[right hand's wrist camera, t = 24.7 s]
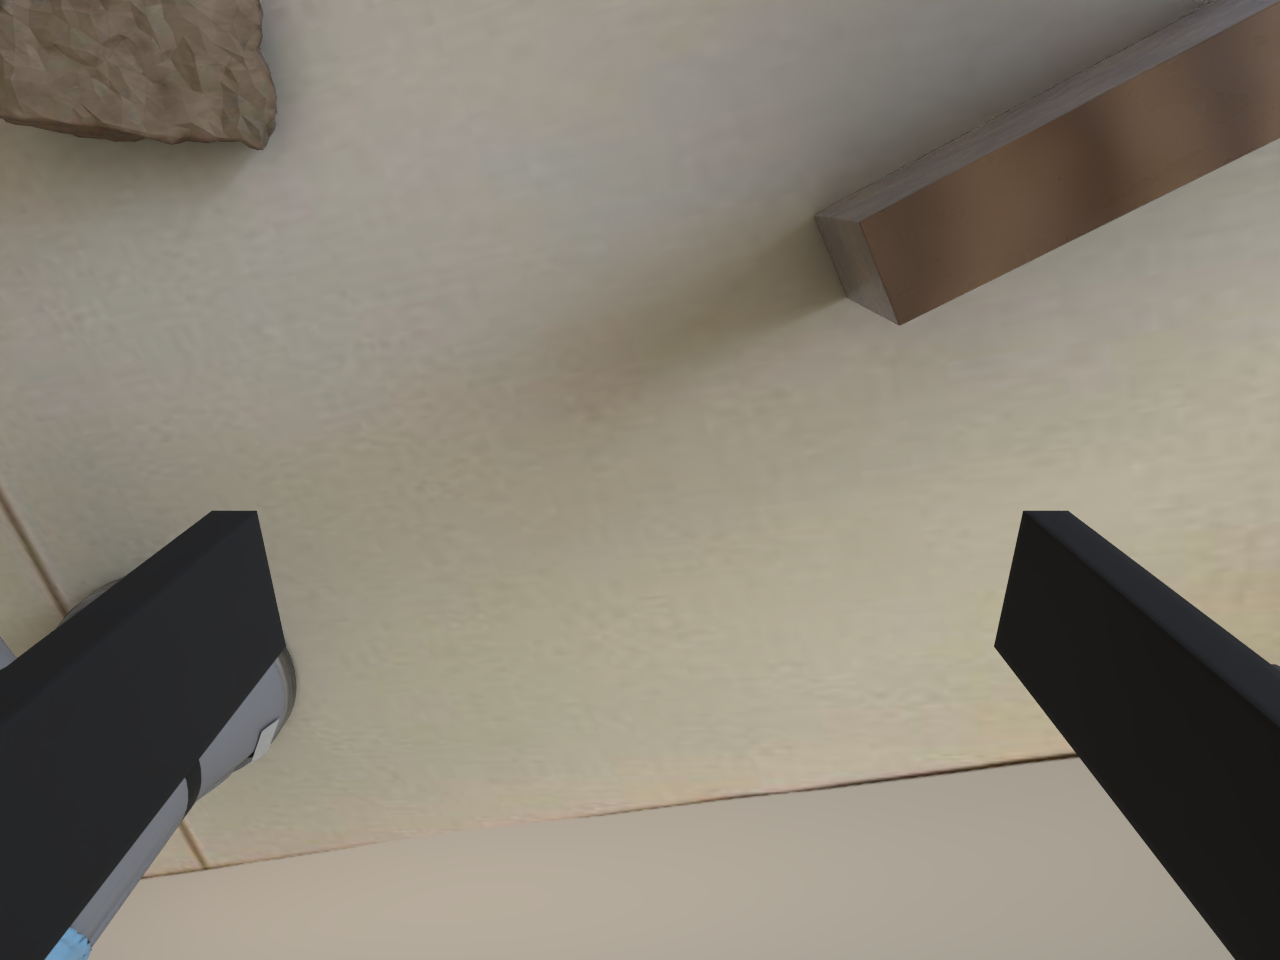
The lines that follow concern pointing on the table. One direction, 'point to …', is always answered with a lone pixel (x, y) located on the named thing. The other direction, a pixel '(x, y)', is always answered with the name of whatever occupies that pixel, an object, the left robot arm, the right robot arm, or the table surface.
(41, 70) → the stone
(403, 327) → the table surface
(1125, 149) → the bar
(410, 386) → the table surface
